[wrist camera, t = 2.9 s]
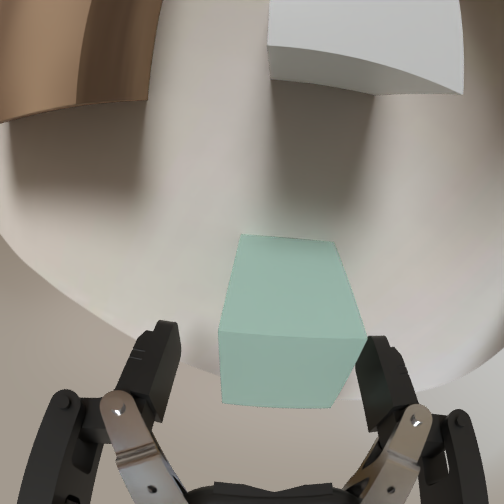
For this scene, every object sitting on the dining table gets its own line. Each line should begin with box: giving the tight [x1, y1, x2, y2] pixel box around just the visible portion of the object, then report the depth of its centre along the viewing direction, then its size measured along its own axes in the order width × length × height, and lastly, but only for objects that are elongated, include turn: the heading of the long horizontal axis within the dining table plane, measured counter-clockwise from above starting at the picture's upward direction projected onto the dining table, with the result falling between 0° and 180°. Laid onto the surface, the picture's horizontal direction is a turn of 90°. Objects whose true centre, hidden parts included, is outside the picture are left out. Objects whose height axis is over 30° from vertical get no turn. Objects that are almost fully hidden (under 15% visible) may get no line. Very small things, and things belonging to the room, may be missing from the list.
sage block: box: [218, 234, 368, 408], centre depth 13 cm, size 5×5×7 cm
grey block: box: [267, 0, 464, 95], centre depth 6 cm, size 5×5×7 cm
